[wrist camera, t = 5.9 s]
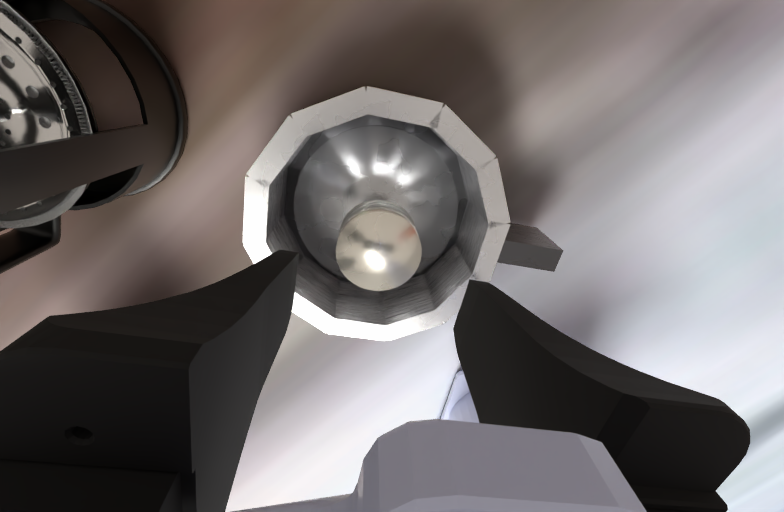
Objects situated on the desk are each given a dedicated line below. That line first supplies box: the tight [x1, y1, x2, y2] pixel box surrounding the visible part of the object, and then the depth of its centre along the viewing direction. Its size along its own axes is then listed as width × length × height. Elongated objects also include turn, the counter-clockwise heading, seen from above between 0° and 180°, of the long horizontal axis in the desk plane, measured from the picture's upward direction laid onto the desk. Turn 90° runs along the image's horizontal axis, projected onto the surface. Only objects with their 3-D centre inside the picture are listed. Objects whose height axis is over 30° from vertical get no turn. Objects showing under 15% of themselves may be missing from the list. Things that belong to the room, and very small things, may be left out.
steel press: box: [243, 86, 563, 341], centre depth 19 cm, size 15×12×5 cm
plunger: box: [294, 125, 458, 291], centre depth 18 cm, size 9×9×6 cm
